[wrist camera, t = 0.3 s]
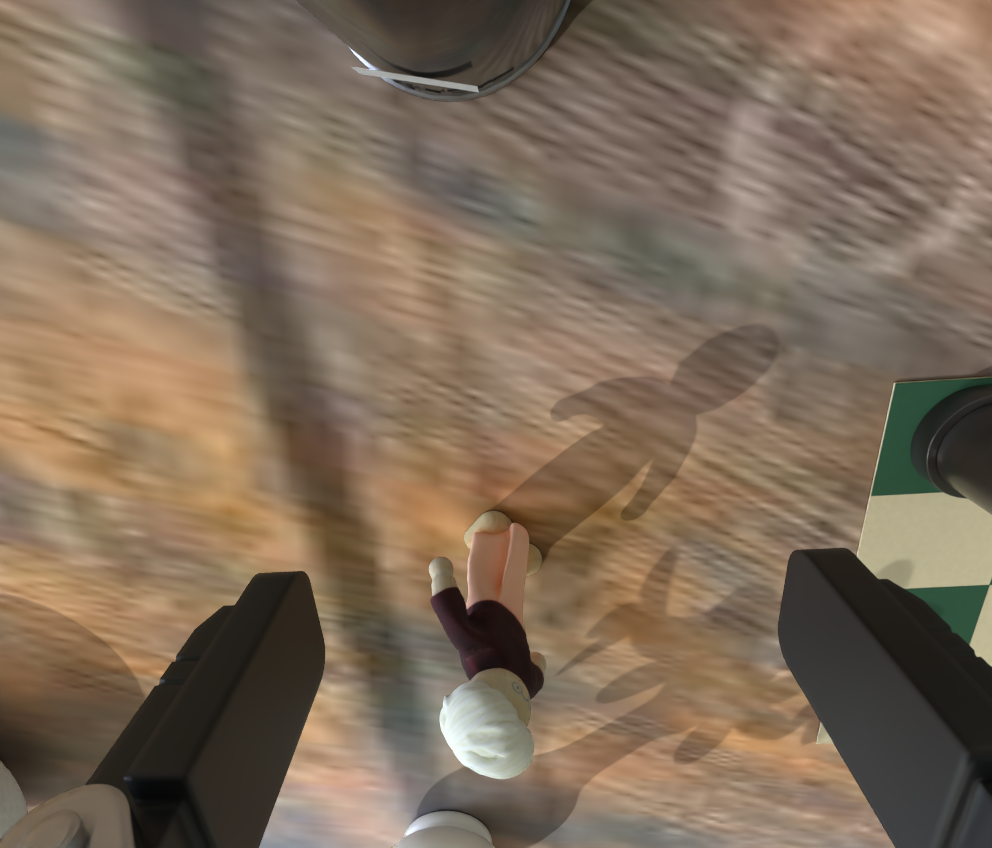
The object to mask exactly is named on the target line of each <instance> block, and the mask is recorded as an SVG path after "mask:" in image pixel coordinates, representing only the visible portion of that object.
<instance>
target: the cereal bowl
mask: <svg viewBox="0 0 992 848" xmlns="http://www.w3.org/2000/svg"><path fill="white" fill-rule="evenodd" d="M27 813H28V811H27V803H26V802H25V800H24V795H23V794H22V792H21V790H20V786H19V785H18V784H17V782H16V779H15V778H14V777H13V776H12V775H11V772H10V770H8V769H7V768H6V767H5V766H4V764H3V763H2V761H0V838H1V837H2V836H3V834H5V833H6V832H7V831H8V830H9V829H10V828H11V827H12V826H13V825H14V824H15V823H16V822H18V821H19V820H20V819H21V818H23V817H24V816H25V815H26V814H27Z"/></svg>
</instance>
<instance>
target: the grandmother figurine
mask: <svg viewBox="0 0 992 848" xmlns="http://www.w3.org/2000/svg"><path fill="white" fill-rule="evenodd" d="M464 540H465V543H466V545H467V546H468V548H469V549H471V550H470V554H469V558H468V573H467V582H468V588H469V592H468V599H467V604H465V602H464V598H463V596H462V595H461V593H460V590H459V588H458V587H457V584H456V581H455V578H454V577H453V565H452V563H451V561H450V560H449V559H448V558H445V557H438V558H435V559H434V560H433V561H432V562H431V563H430V566H429V573H430V576H431V578H432V579H433V581H432V593H433V597H432V598H431V605H432V607H433V609H434V611H435V613H436V614H437V616H438V618H439V620H440V622H441V624H442V626H443V628H444V630H445V632H446V634H447V636H448V637H449V639H450V641H451V642H452V644H453V645H454V646H455V648H456V649H457V650H458V651H459V653H460V657H461V662H462V666H463V668H464V670H465V672H466V674H467V677H468V679H469V680H470V681H469V682H468V683H464V684H462V685H460V686H459V687H458V688H456V689H455V690H454V691H453V693H452V694H451V695H448V696H445V695H444V701H443V708H442V710H441V713H440V727H441V730H442V733H443V735H444V736H445V739H446V741H447V743H448V745H449V746H450V747H451V748H452V750H453V752H454V754H455V755H456V757H457V758H458V759H459V761H460V762H461V763H462V764H463V765H465V766H467V767H468V768H470V769H472V770H473V771H475V772H477V773H478V774H480V775H485V776H488V777H492V778H497V779H508V778H512V777H515V776H517V775H519V774H520V773H522V772H523V771H524V770H525V769H526V768H527V767H528V766H529V764H530V763H531V761H532V757H533V752H534V741H533V738H532V735H531V732H530V731H529V729H528V728H527V726H528V723H529V720H530V715H531V701H530V699H532V698H533V697H534V696H535V695H536V694H537V693H538V691H539V690H540V689H541V688H542V686H543V683H544V677H543V676H544V671H545V668H546V661H545V658H544V656H543V655H542V654H540V653H538V652H532V653H530V650H529V646H528V643H527V639H526V633H525V629H524V625H523V594H524V585H525V577H526V576H528V575H531V574H534V573H535V572H536V571H537V570H538V569H539V568H540V566H541V564H542V555H541V553H540V551H539V550H538V548H537V547H536V546H534V545H532V544H529V535H528V532H527V530H526V529H525V528H524V527H523V526H521V525H520V524H518V523H512V522H511V520H510V519H509V518H508V517H507V516H506V515H504V514H503V513H501V512H498V511H489V512H485V513H484V514H482V515H481V516H480V517H479V518H478V519H477V520H476V521H475V522H474V524H473V525H472V526H471V527H470V528H469V529H468V530H467V531H466V533H465V535H464Z"/></svg>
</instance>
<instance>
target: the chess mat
mask: <svg viewBox="0 0 992 848" xmlns="http://www.w3.org/2000/svg"><path fill="white" fill-rule="evenodd" d="M978 385H992V377H977V378H961V379H945V380H929V381H912V382H896V383H894V385H893V390H892V395H891V399H890V404H889V408H888V413H887V418H886V422H885V427H884V432H883V436H882V441H881V445H880V450H879V455H878V459H877V464H876V468H875V473H874V478H873V482H872V487H871V491H870V496H869V501H868V505H867V510H866V514H865V519H864V524H863V528H862V533H861V538H860V542H859V547H858V551H857V557H858V559H859V560H860V561H861V562H862V563H863V564H864V565H865V566H866V567H867V568H868V569H869V570H870V571H871V572H872V573H873V574H874V575H875V576H876V577H877V578H878V579H889V580H890V581H892V582H894V583H895V584H897V585H899V586H900V587H902V588H904V589H905V590H907V591H909V592H910V593H912V594H914V595H915V596H917V597H919V598H920V599H922V600H924V601H925V602H926V603H927V604H928V605H929V606H930V607H931V608H932V609H933V610H934V611H935V612H936V613H937V614H938V615H939V616H940V617H941V618H942V619H943V620H944V621H945V622H946V623H947V624H948V625H949V626H950V627H951V630H952V632H953V633H957V634H958V635H959V636H960V637H961V638H962V639H964V640H965V641H966V642H967V643H968V644H969V645H970V646H971V647H972V648H973V649H974V650H975V655H976V656H977V657H982V658H983V659H984V660H985V661H986V662H987V663H988V664H989V665H990V666H991V667H992V515H991V514H990V513H988V512H987V511H985V510H984V509H982V508H981V507H980V506H978V505H977V504H975V503H974V502H972V501H971V500H969V499H965V498H958V497H954V496H950V495H948V494H945V493H944V492H942V491H940V490H939V489H937V488H936V487H935V486H933V485H932V484H930V483H929V482H927V481H926V480H925V479H923V478H922V477H921V476H920V475H919V474H918V473H917V471H916V470H915V468H914V466H913V463H912V460H911V454H910V447H911V441H912V438H913V435H914V432H915V430H916V428H917V426H918V425H919V423H920V421H921V420H922V419H923V417H924V416H925V415H926V414H927V413H928V412H929V411H930V410H931V409H932V408H933V407H934V406H935V405H936V404H937V403H939V402H940V401H941V400H943V399H944V398H946V397H948V396H949V395H951V394H953V393H955V392H957V391H960V390H962V389H965V388H968V387H973V386H978ZM816 743H817V744H827V743H833V741H832V740H831V738H830V736H829V735H828V733H827V731H826V730H825V728H824V726H823V725H822V723H821V722H820V727H819V731H818V736H817V740H816Z"/></svg>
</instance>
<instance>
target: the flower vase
mask: <svg viewBox="0 0 992 848" xmlns="http://www.w3.org/2000/svg"><path fill="white" fill-rule="evenodd" d="M392 848H496V847H495V846H494V845H493V844H492V839H491V834H490V833H489V831H488V829H487V827H486V826H485V825H484V824H482V823H481V822H480V821H479V820H478V819H476V818H474V817H472V816H470V815H467V814H464V813H461V812H454V811H437V812H432V813H428V814H425V815H423V816H421V817H419V818H417V819H416V820H415V821H414V822H412V823H411V824H410V826H409V827H408V829H407V831H406V832H405V836H404V838H402V839H401V840H400V841H399V842H397V843H396V844H395V845H394V846H393V847H392Z"/></svg>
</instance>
